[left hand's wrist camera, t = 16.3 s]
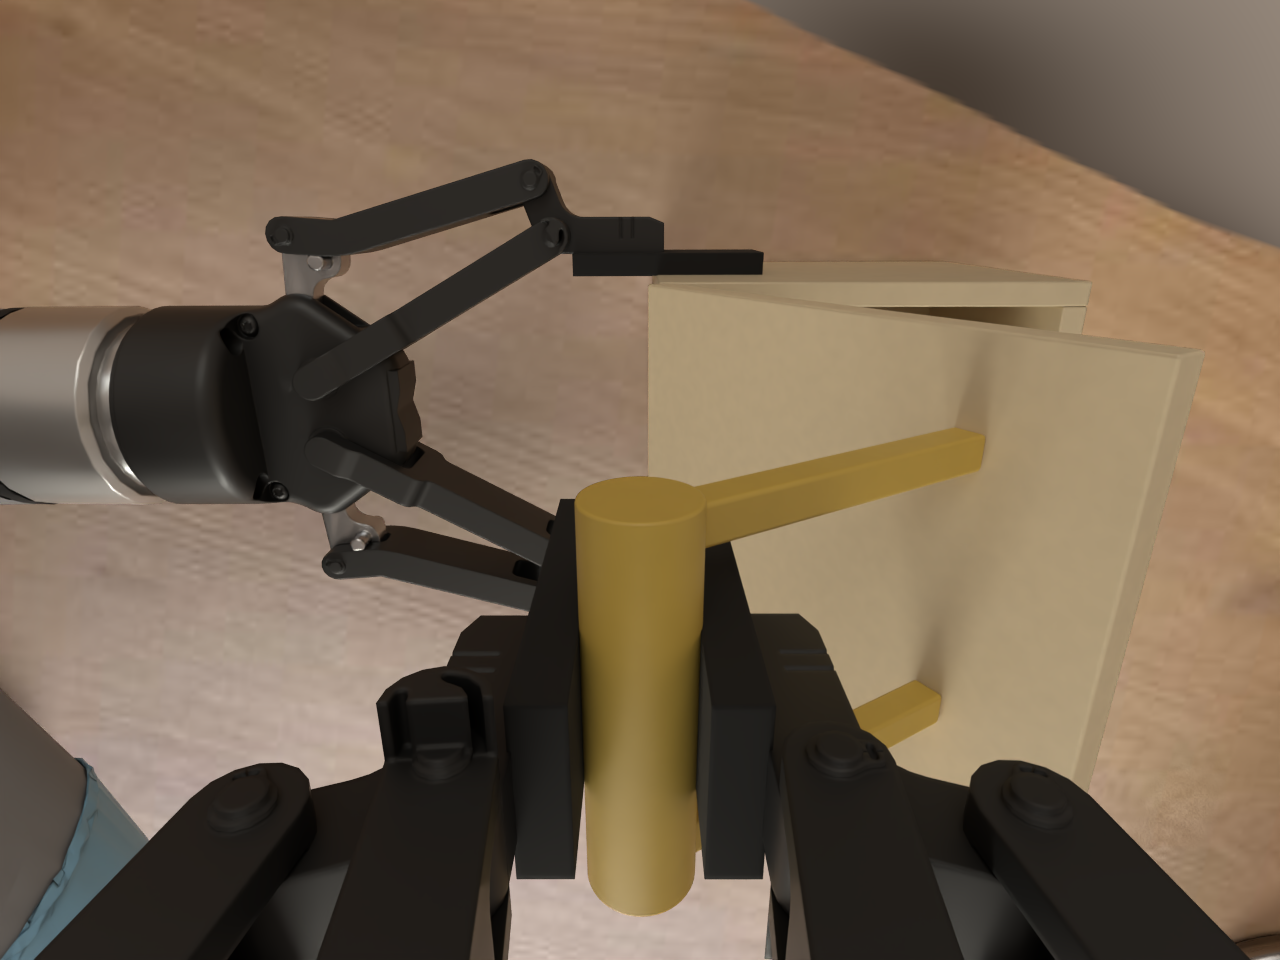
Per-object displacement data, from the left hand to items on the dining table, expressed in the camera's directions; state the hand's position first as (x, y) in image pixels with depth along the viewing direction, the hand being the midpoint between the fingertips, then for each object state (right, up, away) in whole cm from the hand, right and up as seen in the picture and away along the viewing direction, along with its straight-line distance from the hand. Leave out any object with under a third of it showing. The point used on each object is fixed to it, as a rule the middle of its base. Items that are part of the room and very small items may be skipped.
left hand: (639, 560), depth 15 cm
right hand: (+4, +5, +13) cm, 14 cm away
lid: (+5, +1, +3) cm, 5 cm away
